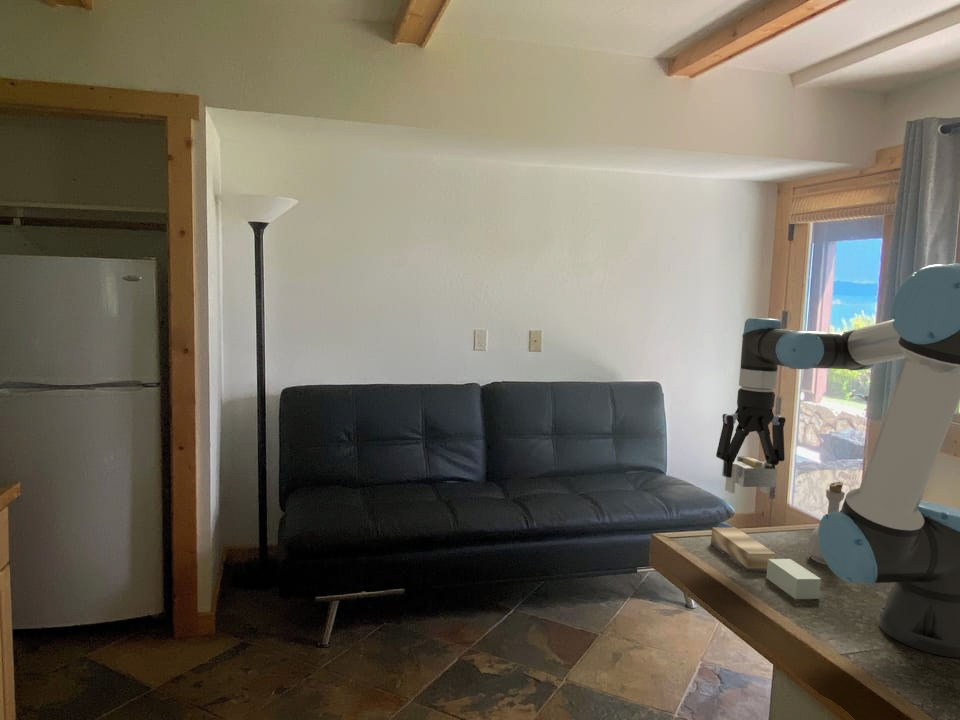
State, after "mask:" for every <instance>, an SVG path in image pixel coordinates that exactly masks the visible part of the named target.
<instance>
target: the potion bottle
mask: <svg viewBox="0 0 960 720" xmlns="http://www.w3.org/2000/svg"><path fill="white" fill-rule="evenodd" d="M843 485H844V483H843V482H842V481H833V482H831V483H829V488H828V489H827V488H826V491H825V494H826V495H825V496H826V498H827V500H828V505H827V506H828V507H827V514H829V513H830V512H832V511H839V512H840V504H841V502H842V501H843V500H844V499H845V496H846V493H845V492H844V491H842V489H843ZM818 528H819V526H817V527H815V528H814V530H813V531H812V533H811V535H810V538H809V541H808V543H807V545H808V550H809V554H811V560H813V561H814V562H817V563H818V564H821V565H824V566H828V565H827V563H826V562H825V560H824V558H823V555H822V551H821V549H820V546H819V541H818Z"/></svg>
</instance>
